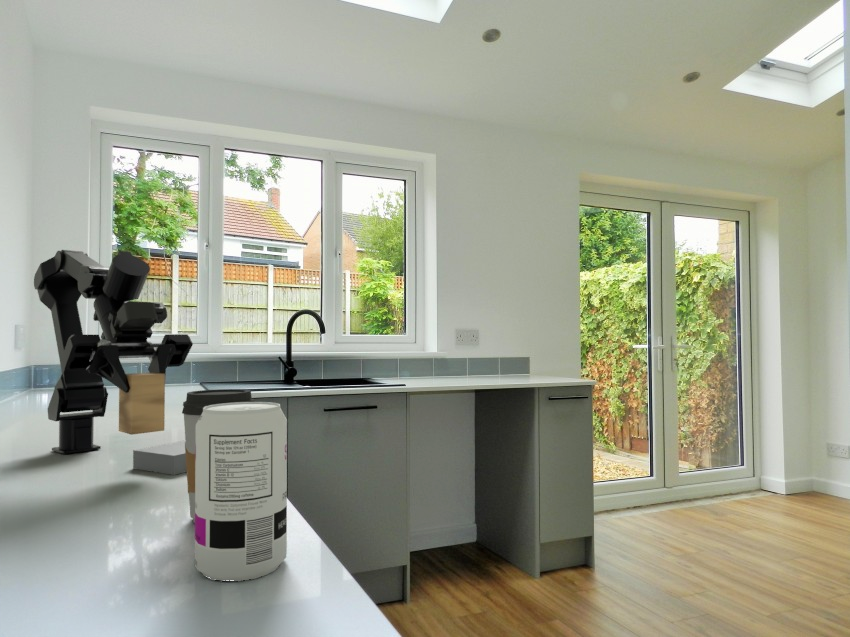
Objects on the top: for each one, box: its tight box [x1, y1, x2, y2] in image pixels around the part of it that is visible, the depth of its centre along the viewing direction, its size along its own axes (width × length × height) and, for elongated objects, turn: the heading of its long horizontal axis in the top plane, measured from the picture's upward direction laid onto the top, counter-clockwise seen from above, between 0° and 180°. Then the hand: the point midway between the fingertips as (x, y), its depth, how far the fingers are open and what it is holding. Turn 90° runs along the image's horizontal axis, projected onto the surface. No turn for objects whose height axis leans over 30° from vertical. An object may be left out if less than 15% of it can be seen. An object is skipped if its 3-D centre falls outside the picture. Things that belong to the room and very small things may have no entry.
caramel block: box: [118, 372, 166, 435], centre depth 92 cm, size 5×5×9 cm
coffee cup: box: [181, 388, 255, 524], centre depth 69 cm, size 8×8×15 cm
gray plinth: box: [132, 440, 187, 476], centre depth 98 cm, size 10×10×3 cm
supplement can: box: [194, 401, 288, 582], centre depth 55 cm, size 8×8×15 cm
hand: (145, 389), depth 91 cm, fingers closed on caramel block, 5 cm apart
